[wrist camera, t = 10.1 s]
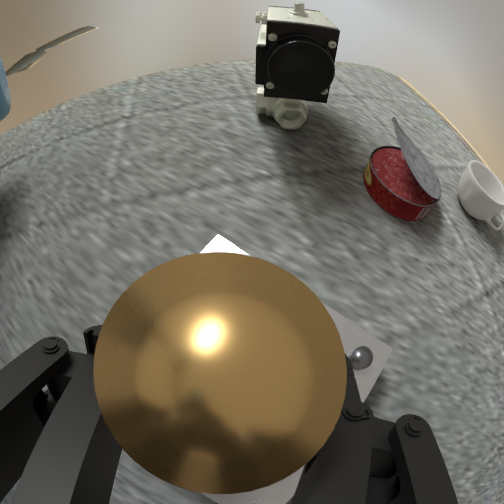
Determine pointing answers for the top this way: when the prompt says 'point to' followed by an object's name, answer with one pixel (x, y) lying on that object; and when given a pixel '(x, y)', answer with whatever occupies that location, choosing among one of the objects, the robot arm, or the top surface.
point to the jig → (365, 370)
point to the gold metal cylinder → (220, 373)
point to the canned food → (402, 179)
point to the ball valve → (293, 62)
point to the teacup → (481, 193)
